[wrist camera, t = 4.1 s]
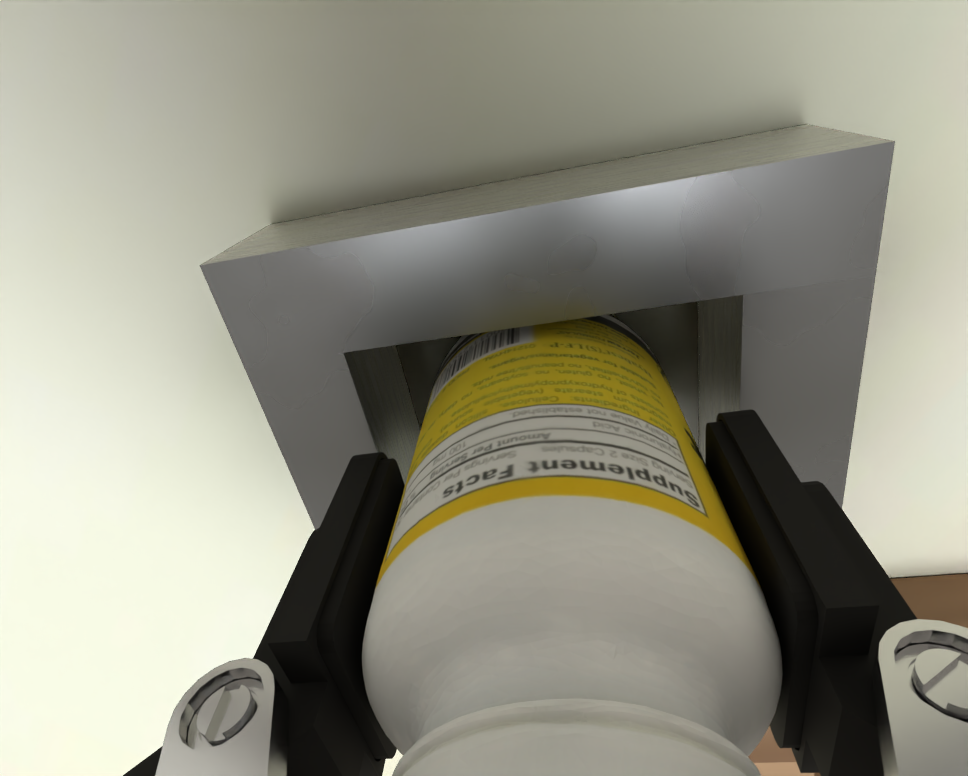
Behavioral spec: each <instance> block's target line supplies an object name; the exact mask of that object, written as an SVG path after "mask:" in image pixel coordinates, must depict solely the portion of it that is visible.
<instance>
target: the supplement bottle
mask: <svg viewBox="0 0 968 776" xmlns="http://www.w3.org/2000/svg"><path fill="white" fill-rule="evenodd" d="M362 670H363V678H364V683H365V689H366V693H367V696H368V700H369V703H370V705H371V707H372V710H373V712H374V714H375V716H376V718H377V720H378V722H379V724H380V726H381V727H382V729H383V731H384V732H385V734H386V735H387V737H388V738H389V739H390V740H391V742H392V743H393V744H394V746H395V747H396V748H397V749H398V750H399V751H400V753H401V754H402V755H404V756H403V757H402V758H401V759H400V761H399V763H398V764H397V766H396V768H395V770H394V772H393V775H392V776H761V774H760V772H759V770H758V768H757V766H756V765H755V764H754V763H753V762H752V761H751V760H750V759H749V757H748V756H749V755H750V754H751V753H752V752H753V750H754V749H755V748H756V746H757V745H758V744H759V743H760V741H761V740H762V738H763V736H764V734H765V733H766V731H767V729H768V727H769V725H770V723H771V721H772V719H773V717H774V715H775V712H776V708H777V704H778V701H779V697H780V692H781V684H782V676H783V670H782V654H781V648H780V641H779V637H778V634H777V631H776V628H775V625H774V621H773V618H772V616H771V613H770V611H769V608H768V606H767V602H766V599H765V596H764V594H763V591H762V589H761V586H760V584H759V581H758V579H757V577H756V575H755V573H754V571H753V569H752V566H751V564H750V562H749V560H748V558H747V556H746V554H745V551H744V549H743V547H742V545H741V543H740V540H739V538H738V536H737V534H736V532H735V529H734V527H733V525H732V523H731V521H730V519H729V516H728V514H727V512H726V510H725V507H724V505H723V503H722V501H721V498H720V496H719V494H718V491H717V489H716V487H715V485H714V482H713V480H712V478H711V476H710V473H709V471H708V469H707V466H706V464H705V462H704V460H703V457H702V455H701V453H700V451H699V449H698V447H697V445H696V442H695V440H694V438H693V436H692V433H691V431H690V429H689V427H688V425H687V423H686V420H685V418H684V416H683V414H682V411H681V409H680V407H679V405H678V402H677V400H676V398H675V396H674V393H673V391H672V389H671V387H670V385H669V382H668V380H667V378H666V375H665V373H664V372H663V370H662V368H661V366H660V364H659V362H658V360H657V359H656V357H655V356H654V354H653V352H652V351H651V350H650V348H649V347H648V346H647V344H646V343H645V342H644V341H643V340H642V339H641V338H640V336H638V335H637V334H636V333H635V332H634V331H633V330H632V329H630V328H629V327H628V326H626V325H625V324H623V323H622V322H620V321H619V320H617V319H616V318H614V317H612V316H610V315H608V314H607V315H600V316H593V317H586V318H579V319H573V320H566V321H559V322H552V323H545V324H538V325H531V326H524V327H517V328H511V329H504V330H497V331H490V332H483V333H476V334H469V335H463V336H462V337H461V338H460V339H459V340H458V341H457V343H456V344H455V345H454V346H453V347H452V348H451V350H450V351H449V353H448V355H447V356H446V358H445V359H444V361H443V363H442V365H441V367H440V369H439V372H438V374H437V377H436V380H435V382H434V385H433V388H432V391H431V395H430V398H429V402H428V406H427V410H426V413H425V417H424V421H423V424H422V428H421V431H420V434H419V437H418V441H417V445H416V449H415V452H414V456H413V459H412V462H411V466H410V469H409V473H408V476H407V480H406V484H405V488H404V491H403V495H402V498H401V502H400V505H399V509H398V512H397V515H396V519H395V522H394V526H393V529H392V533H391V536H390V539H389V543H388V546H387V550H386V553H385V556H384V559H383V562H382V566H381V569H380V573H379V576H378V580H377V584H376V588H375V592H374V596H373V600H372V604H371V608H370V611H369V615H368V619H367V623H366V628H365V633H364V639H363V646H362Z"/></svg>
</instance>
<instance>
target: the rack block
mask: <svg viewBox="0 0 968 776" xmlns="http://www.w3.org/2000/svg"><path fill="white" fill-rule="evenodd" d="M890 580H891V581H892V583H893V584H894V586H895V587H896V588H897V590H898V591H899V593H900V594H901V596H902V597H903V599H904V600H905V601H906V603H907V604H908V606H909V607H910V609H911V610H912V612H913V613H914V614H915V616H916V617H917V619H924V620H939V621H944V622H948V623H951V624H955V625H959V626H962V627H965V628H968V574H957V575H942V576H928V577H913V578H898V579H890ZM748 757H749V759H750V760H751V761H752V762H753V763H754V764H755V765H756V766H757V768H758V770H759V772H760V774H761V776H821V775H820V773H800V770H799V767H798V765H797V762H796V760H795V757H794V754H793V752H792V749H791V748H780V747H779V746H778V745H777V743H776V741H775V739H774V736H773V734H772V731H771V728H770V725H769V727H768V729H767V731H766V733H765V734H764V736H763V738H762V740H761V741H760V743H759V744H758V745H757V746H756V748H755V749H754V750H753V752H752V753H751V754H750V755H749V756H748Z"/></svg>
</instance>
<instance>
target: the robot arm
mask: <svg viewBox="0 0 968 776" xmlns="http://www.w3.org/2000/svg"><path fill="white" fill-rule="evenodd" d="M706 466H707V469H708V471H709V473H710V476H711V478H712V480H713V482H714V485H715V487H716V489H717V491H718V494H719V496H720V498H721V501H722V503H723V505H724V507H725V510H726V512H727V514H728V516H729V519H730V521H731V523H732V525H733V527H734V529H735V532H736V534H737V536H738V538H739V540H740V543H741V545H742V547H743V549H744V551H745V554H746V556H747V558H748V560H749V562H750V564H751V566H752V569H753V571H754V573H755V575H756V577H757V579H758V581H759V584H760V586H761V589H762V591H763V594H764V596H765V599H766V602H767V606H768V608H769V611H770V613H771V616H772V618H773V621H774V625H775V628H776V631H777V634H778V637H779V641H780V648H781V654H782V670H783V676H782V684H781V692H780V697H779V701H778V704H777V708H776V712H775V715H774V717H773V719H772V721H771V723H770V728H771V731H772V734H773V736H774V739H775V741H776V743H777V745H778V746H779V747H780V748H791V749H792V752H793V754H794V757H795V760H796V762H797V765H798V767H799V770H800V773H820V775H821V776H968V628H965V627H962V626H959V625H955V624H951V623H948V622H944V621H939V620H924V619H917V617H916V616H915V614H914V613H913V612H912V610H911V609H910V607H909V606H908V604H907V603H906V601H905V600H904V599H903V597H902V596H901V594H900V593H899V591H898V590H897V588H896V587H895V586H894V584H893V583H892V581H891V580H890V578H889V577H888V575H887V574H886V572H885V571H884V570H883V568H882V567H881V565H880V564H879V562H878V561H877V559H876V558H875V557H874V555H873V554H872V552H871V551H870V549H869V548H868V546H867V545H866V544H865V542H864V541H863V539H862V538H861V536H860V535H859V533H858V532H857V531H856V529H855V528H854V526H853V525H852V523H851V522H850V520H849V519H848V517H847V516H846V515H845V513H844V512H843V510H842V509H841V507H840V506H839V504H838V503H837V502H836V500H835V499H834V497H833V496H832V494H831V493H830V491H829V490H828V489H827V488H826V487H825V485H824V484H823V483H821V482H819V481H811V482H800V480H799V478H798V477H797V475H796V474H795V472H794V471H793V469H792V467H791V466H790V464H789V463H788V461H787V460H786V458H785V456H784V455H783V453H782V452H781V450H780V449H779V447H778V445H777V444H776V442H775V441H774V439H773V438H772V436H771V435H770V433H769V431H768V430H767V428H766V427H765V425H764V424H763V422H762V420H761V419H760V417H759V416H758V414H757V413H756V412H755V410H752V409H750V410H741V411H733V412H724V413H719V414H718V415H717V418H716V422H710V423H707V424H706ZM404 488H405V484H404V481H403V478H402V475H401V472H400V469H399V466H398V463H397V461H396V460H395V459H393V458H392V459H388V458H387V456H386V455H385V453H383V452H377V453H369V454H360V455H354V456H352V458H351V459H350V461H349V464H348V466H347V468H346V470H345V472H344V475H343V477H342V479H341V481H340V484H339V486H338V488H337V490H336V492H335V495H334V497H333V499H332V501H331V503H330V506H329V508H328V510H327V512H326V514H325V517H324V519H323V521H322V523H321V526H320V528H318V529H316V530H315V531H313V533H312V534H311V536H310V538H309V539H308V542H307V544H306V546H305V548H304V550H303V552H302V554H301V557H300V559H299V561H298V563H297V565H296V567H295V570H294V572H293V574H292V576H291V578H290V580H289V582H288V585H287V587H286V589H285V591H284V593H283V595H282V598H281V600H280V602H279V604H278V606H277V608H276V610H275V613H274V615H273V617H272V619H271V621H270V623H269V626H268V628H267V630H266V632H265V634H264V636H263V638H262V641H261V643H260V645H259V647H258V649H257V651H256V654H255V656H254V658H253V659H249V658H242V659H238V660H233V661H229V662H227V663H225V664H223V665H220V666H218V667H216V668H214V669H213V670H211V671H210V672H208V673H207V674H206V675H204V676H203V677H201V678H200V679H199V680H198V681H197V682H196V683H195V684H194V685H193V686H192V687H191V688H190V689H189V690H188V691H187V692H186V693H185V694H184V696H183V697H182V698H181V700H180V701H179V703H178V704H177V706H176V707H175V709H174V711H173V714H172V716H171V719H170V721H169V724H168V727H167V731H166V735H165V739H164V743H163V746H162V747H161V748H159V749H158V750H157V751H155V752H154V753H153V754H151V755H150V756H149V757H147V758H146V759H145V760H143V761H142V762H141V763H139V764H138V765H137V766H135V767H134V768H132V769H131V770H130V771H128V772H127V773H126V774H124V775H123V776H382V773H383V768H384V763H385V759H391V758H393V757H394V755H395V753H396V750H397V748H396V747H395V746H394V744H393V743H392V742H391V740H390V739H389V738H388V737H387V735H386V734H385V732H384V731H383V729H382V727H381V726H380V724H379V722H378V720H377V718H376V716H375V714H374V712H373V710H372V707H371V705H370V703H369V700H368V696H367V693H366V689H365V683H364V678H363V670H362V646H363V639H364V633H365V628H366V623H367V619H368V615H369V611H370V608H371V604H372V600H373V596H374V592H375V588H376V584H377V580H378V576H379V573H380V569H381V566H382V562H383V559H384V556H385V553H386V550H387V546H388V543H389V539H390V536H391V533H392V529H393V526H394V522H395V519H396V515H397V512H398V509H399V505H400V502H401V498H402V495H403V491H404Z"/></svg>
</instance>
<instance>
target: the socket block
mask: <svg viewBox="0 0 968 776" xmlns="http://www.w3.org/2000/svg"><path fill="white" fill-rule="evenodd" d="M894 143H895V141H891V140H886V139H881V138H876V137H871V136H865V135H860V134H855V133H850V132H845V131H839V130H834V129H829V128H824V127H819V126H813V125H808V124H804V125H799V126H794V127H788V128H783V129H778V130H772V131H767V132H762V133H756V134H751V135H746V136H740V137H735V138H730V139H724V140H719V141H714V142H708V143H703V144H698V145H692V146H687V147H681V148H676V149H671V150H665V151H660V152H655V153H649V154H644V155H639V156H633V157H628V158H623V159H617V160H612V161H607V162H601V163H596V164H591V165H585V166H580V167H575V168H569V169H564V170H559V171H553V172H548V173H543V174H537V175H532V176H527V177H521V178H516V179H511V180H505V181H500V182H495V183H489V184H484V185H479V186H473V187H468V188H462V189H457V190H452V191H446V192H441V193H436V194H430V195H425V196H420V197H414V198H409V199H404V200H398V201H393V202H388V203H382V204H377V205H372V206H366V207H361V208H356V209H350V210H345V211H340V212H334V213H329V214H324V215H318V216H313V217H308V218H302V219H297V220H292V221H286V222H281V223H276V224H270V225H268V226H267V227H265V228H263V229H262V230H260V231H258V232H256V233H255V234H253V235H251V236H249V237H248V238H246V239H244V240H243V241H241V242H239V243H237V244H236V245H234V246H232V247H230V248H229V249H227V250H225V251H224V252H222V253H220V254H218V255H217V256H215V257H213V258H212V259H210V260H208V261H206V262H205V263H203V264H201V265H200V267H201V269H202V272H203V274H204V276H205V279H206V281H207V283H208V285H209V288H210V290H211V292H212V295H213V297H214V299H215V301H216V304H217V306H218V308H219V311H220V313H221V315H222V317H223V320H224V322H225V324H226V327H227V329H228V331H229V333H230V336H231V338H232V340H233V343H234V345H235V347H236V349H237V352H238V354H239V356H240V359H241V361H242V363H243V365H244V368H245V370H246V372H247V375H248V377H249V379H250V381H251V384H252V386H253V388H254V391H255V393H256V395H257V397H258V400H259V402H260V404H261V407H262V409H263V411H264V413H265V416H266V418H267V420H268V423H269V425H270V427H271V429H272V432H273V434H274V436H275V439H276V441H277V443H278V445H279V448H280V450H281V452H282V455H283V457H284V459H285V461H286V464H287V466H288V468H289V470H290V473H291V475H292V477H293V480H294V482H295V484H296V486H297V489H298V491H299V493H300V496H301V498H302V500H303V502H304V505H305V507H306V509H307V512H308V514H309V516H310V518H311V521H312V523H313V525H314V528H315V530H316V529H318V528H320V526H321V523H322V521H323V519H324V517H325V514H326V512H327V510H328V508H329V506H330V503H331V501H332V499H333V497H334V495H335V492H336V490H337V488H338V486H339V484H340V481H341V479H342V477H343V475H344V472H345V470H346V468H347V466H348V464H349V461H350V459H351V458H352V456H354V455H360V454H369V453H377V452H383V453H385V455H386V456H387V458H388V459H392V458H393V459H395V460H396V461H397V463H398V466H399V469H400V472H401V475H402V478H403V481H404V484H406V480H407V476H408V473H409V469H410V466H411V462H412V459H413V456H414V452H415V449H416V445H417V441H418V437H419V434H420V427H419V424H418V421H417V417H416V414H415V410H414V407H413V403H412V400H411V396H410V393H409V389H408V386H407V382H406V379H405V376H404V372H403V369H402V365H401V362H400V358H399V355H398V351H397V348H396V345H400V344H407V343H414V342H421V341H428V340H435V339H442V338H449V337H455V336H462V335H469V334H476V333H483V332H490V331H497V330H504V329H511V328H517V327H524V326H531V325H538V324H545V323H552V322H559V321H566V320H573V319H579V318H586V317H593V316H600V315H607V314H614V313H621V312H628V311H635V310H641V309H648V308H655V307H662V306H669V305H676V304H683V303H690V302H697V301H698V371H699V451H700V453H701V455H702V457H703V460H704V462H705V464H706V424H707V423H710V422H716V418H717V415H718V414H719V413H724V412H733V411H741V410H750V409H752V410H755V412H756V413H757V414H758V416H759V417H760V419H761V420H762V422H763V424H764V425H765V427H766V428H767V430H768V431H769V433H770V435H771V436H772V438H773V439H774V441H775V442H776V444H777V445H778V447H779V449H780V450H781V452H782V453H783V455H784V456H785V458H786V460H787V461H788V463H789V464H790V466H791V467H792V469H793V471H794V472H795V474H796V475H797V477H798V478H799V480H800V482H811V481H819V482H821V483H823V484H824V485H825V487H826V488H827V489H828V490H829V491H830V493H831V494H832V496H833V497H834V499H835V500H836V502H837V503H838V504H839V506H840V507H841V509H842V504H843V497H844V490H845V483H846V476H847V469H848V462H849V456H850V449H851V442H852V435H853V428H854V421H855V414H856V407H857V400H858V393H859V386H860V379H861V372H862V365H863V358H864V351H865V345H866V338H867V331H868V324H869V317H870V310H871V303H872V296H873V289H874V282H875V275H876V268H877V261H878V254H879V247H880V240H881V234H882V227H883V220H884V213H885V206H886V199H887V192H888V185H889V178H890V171H891V164H892V157H893V150H894Z"/></svg>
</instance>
